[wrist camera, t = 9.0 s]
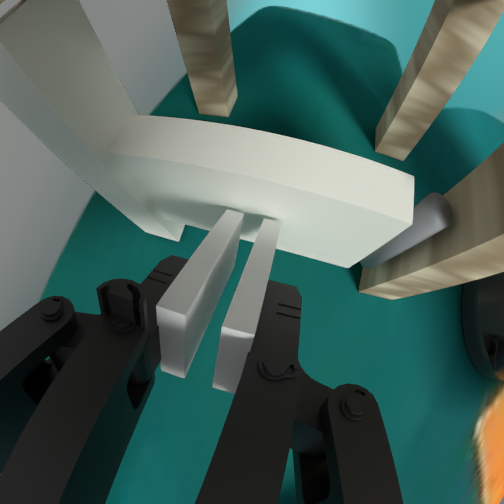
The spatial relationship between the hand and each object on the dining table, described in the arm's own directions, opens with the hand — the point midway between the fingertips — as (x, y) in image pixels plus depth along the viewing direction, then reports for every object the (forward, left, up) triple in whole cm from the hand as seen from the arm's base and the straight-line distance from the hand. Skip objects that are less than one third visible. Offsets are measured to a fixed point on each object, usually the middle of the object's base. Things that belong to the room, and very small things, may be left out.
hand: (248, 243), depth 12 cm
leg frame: (+1, -2, -8) cm, 8 cm away
